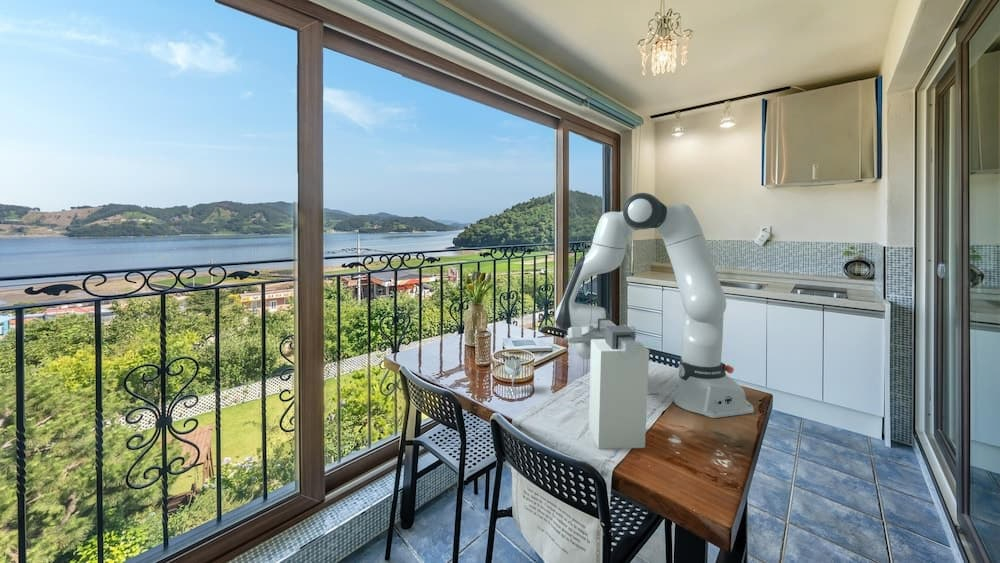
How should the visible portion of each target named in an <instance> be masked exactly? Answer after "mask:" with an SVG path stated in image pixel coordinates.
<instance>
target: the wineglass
mask: <svg viewBox="0 0 1000 563" xmlns="http://www.w3.org/2000/svg"><path fill="white" fill-rule="evenodd" d="M504 359H505V360H504V366H503V367H504V368H503V370H504V373H505V375H507V376H508V377H511V379H510V380H511V388H509V389H507V390H505V391H506V394H508V395H517V394H519V393H520V390H519V389H517V388H514V382H515V377H517V376H519V375H520V373H522V372H521V371H522V363H521V359H520V357H519V356H516V355H509V356H506V358H504Z"/></svg>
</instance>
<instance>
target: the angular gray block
mask: <svg viewBox="0 0 1000 563" xmlns="http://www.w3.org/2000/svg"><path fill="white" fill-rule="evenodd" d="M606 326H617V325H616V324H615V323H614V322H613V321H612V320H611V321H610V319H598V330H600V331H601V332H602V333H603V334H604V335H605V333H606ZM616 347H617V348H618V349H619V350H620V351H621V352H622V353H623V354H624V355H625V356H638V343H637V342H636V341H635V340H633V339H632V338H631V337H630V336H629V335H617V336H616Z"/></svg>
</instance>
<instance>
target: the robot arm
mask: <svg viewBox="0 0 1000 563" xmlns="http://www.w3.org/2000/svg"><path fill="white" fill-rule="evenodd" d="M649 229H656V230H657V231H658V232H659V233H660V235H661V238H662V241H663V243H664V246H665V249H666V252H667V256H668V258H669V260H670V264H671V266H672V270H673V273H674V277H675V282H676V284H677V289H678V291H679V295H680V297H681V298H680V299H681V300H682V303H683V307H684V313H683V314H684V315H683V328H682V342H681V356H680V358H679V364H678V376H679V378H678V383H677V386H676V390H675V393H674V395H673V400H672V401H673V402H674V404H675V405H676V406H678V407H680V408H681V409H683V410H685V411H688V412H691V413H692V412H693V413H695V414H696V413H697V414H700V415H704V416H706V417H707V418H712V419H717V418H725V417H734V416H739V415H741V416H742V415H749V414H754V413H755V409H754V406H753V405H752V404H751V403H750V402H749V401H748V400H747V399H746V393H745V390H744V389H743V387H742V386H741V385H740V384H739V383H737V382H736V381H735V380H734V379H733V378H732V377H730V376H729V375H727V373H728V374H733V373H734V372H735V369H734V367H733V366H731V365H729V364H725V363H724V362H722V353H723V352H722V350H723V339H724V336H723V335H724V334H723V333H724V315H725V314H724V313H725V311H726V308H727V300H726V296H725V295H726V294H725V292H724V289H723V288H722V284H721V282H720V278H719V276H718V273H717V270H716V267H715V264H714V261H713V258H712V255H711V253H710V252H711V251H710V249H709V246H708V243H707V241H706V238H705V235H704V232H703V229H702V227H701V224H700V222H699V220H698V218H697V217H696V214H695V212H694V211H693V209H692V207H691V206H689V205H687V204H684V203H676V204H671V205H669V206H666V205H665V204H664V203H663V202H661V201H660V199H659V198H658V197H656V196H654V195H653V194H650V193H647V192H638V193H635V194H633V195H631V196H630V197H629V198H628V199H627V200H626V201H625V203H624V204H623V208H622V211H607V212H605V213H603V214H602V215H601V217H600V218H599V221H598V223H597V225H596V228H595V232H594V235H593V237H592V242H591V246H590V248H589V250H588V252H587V253H586V254H585V255H584V256H581V257H579V259H578V260H577V262H576V263H575V266H574V267H573V270H572V273H571V275H570V278H569V280H568V283H567V285H566V288H565V290H564V292H563V294H562V297H561V300H560V301H559V304H558V305H557V307H556V309H555V313H554V322H555V324H556V326H557V327H558V328H559V329H560V330H562V331H566V332H567V335H565V336H564V341H567V342H568V343H569V344H575V348H574V349H575V353H576V354H577V356H579V357H580V358H582V359H584V360H590V357H591V339H605V335H604V334H603V333H602V332H601V331H600V330H598V319H610V321H612V319H611V315H610V314H609V312H608V310H607V308H605V307H601V306H597V305H591V304H590V305H589V304H584V303H579V302H578V303H577V302H575V301H576V298H577V295H578V293H579V290H580V288H581V286H582V283H583V282H584V280H586V279H587V278H589V277H592V276H596V275H601V274H606V273H610V272H612V271H614V270H616V269H618V268H619V267H620V266H621V264H622V263H623V260H624V258H625V256H626V251H627V247H628V243H629V238H630V235H631V234H632V233H633V232H634V231H639V230H642V231H643V230H649ZM619 326H628V327H629V328H630V329H632V330H633V331H634V332H635V339H636V338H637V329H636V327H635V325H626V324H620V325H619ZM726 372H727V373H726Z"/></svg>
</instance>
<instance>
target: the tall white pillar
mask: <svg viewBox="0 0 1000 563" xmlns="http://www.w3.org/2000/svg"><path fill="white" fill-rule="evenodd" d="M628 326H629V325H626V326H620V325H616V326H606V333H605V339H591V357H590V359H589V360H590V364H589V366H590V367H589V404H588V406H589V407H588V408H589V409H588V411H589V412H588V430H589V432H590V435H591V436H592V439H593V441H594V443H595V444H596V447H597V449H598V450H606V449H607V450H609V449H610V448H616V449H644V448H646V431H647V414H648V413H647V410H648V409H647V407H648V389H649V388H648V387H649V386H648V385H649V368H650V367H649V363H650V349H648V348H647V347H646V346H645V345H643V344H642V343H641V342H640V341H638V339H636V338H635V332H634V331H633V330H632V329H630V328H629V327H628ZM617 335H629V336H630V337H631V338H632V339H633V340H635V341H636V342H637V343H638V356H625V355H624V354H623V353H622V352H621V351H620V350H619V349H618V348H617V347H616V336H617Z"/></svg>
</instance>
